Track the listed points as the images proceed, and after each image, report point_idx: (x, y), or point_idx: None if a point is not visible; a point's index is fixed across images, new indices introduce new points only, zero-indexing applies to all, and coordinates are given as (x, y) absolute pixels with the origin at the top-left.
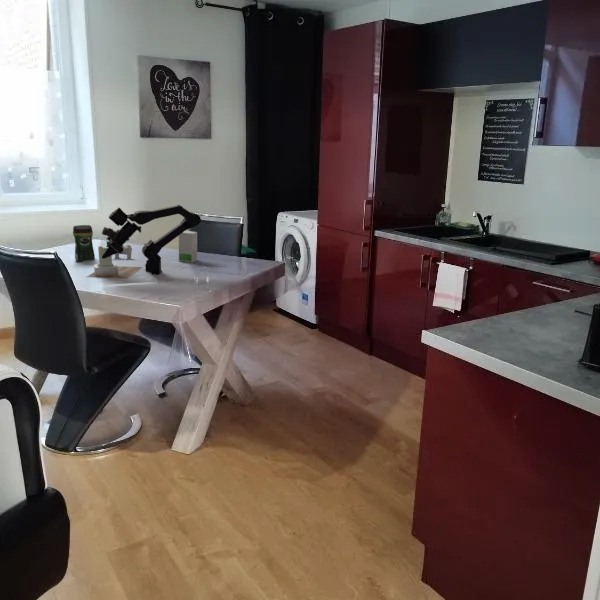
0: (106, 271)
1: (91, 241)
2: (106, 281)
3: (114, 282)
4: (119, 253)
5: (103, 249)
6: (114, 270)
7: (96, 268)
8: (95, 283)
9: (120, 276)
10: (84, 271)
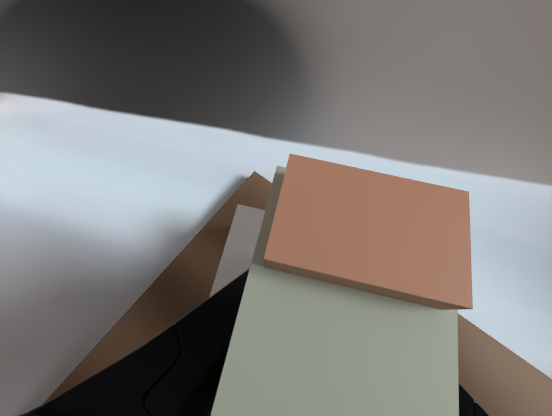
0: None
1: None
2: (115, 267)
3: (46, 309)
4: None
5: (249, 290)
6: None
7: (235, 218)
8: (112, 190)
9: None
10: (486, 229)
